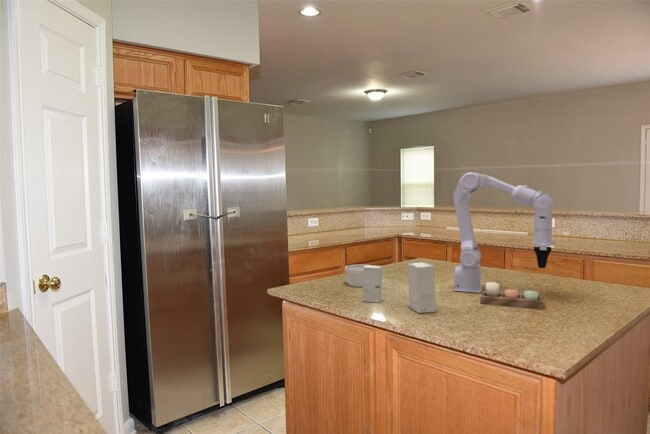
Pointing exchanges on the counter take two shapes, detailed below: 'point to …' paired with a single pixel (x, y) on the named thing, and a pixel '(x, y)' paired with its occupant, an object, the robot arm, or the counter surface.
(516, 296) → the terracotta button
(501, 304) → the button panel
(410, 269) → the skincare box
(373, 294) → the skincare box
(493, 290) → the ivory button
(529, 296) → the sage button
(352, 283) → the ramekin
